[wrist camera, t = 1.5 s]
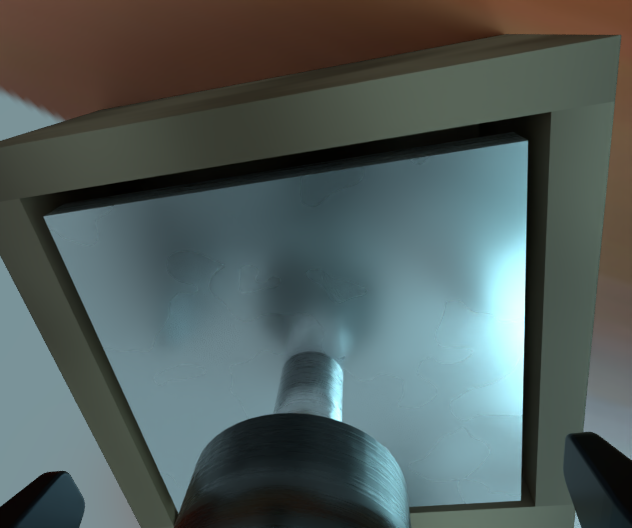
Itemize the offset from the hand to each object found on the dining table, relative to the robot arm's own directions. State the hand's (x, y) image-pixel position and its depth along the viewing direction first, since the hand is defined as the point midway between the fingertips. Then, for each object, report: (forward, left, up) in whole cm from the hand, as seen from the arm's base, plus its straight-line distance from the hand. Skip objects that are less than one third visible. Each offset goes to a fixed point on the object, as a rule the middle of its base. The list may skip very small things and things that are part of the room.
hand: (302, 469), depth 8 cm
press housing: (0, 0, -9) cm, 9 cm away
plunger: (0, 0, -3) cm, 3 cm away
